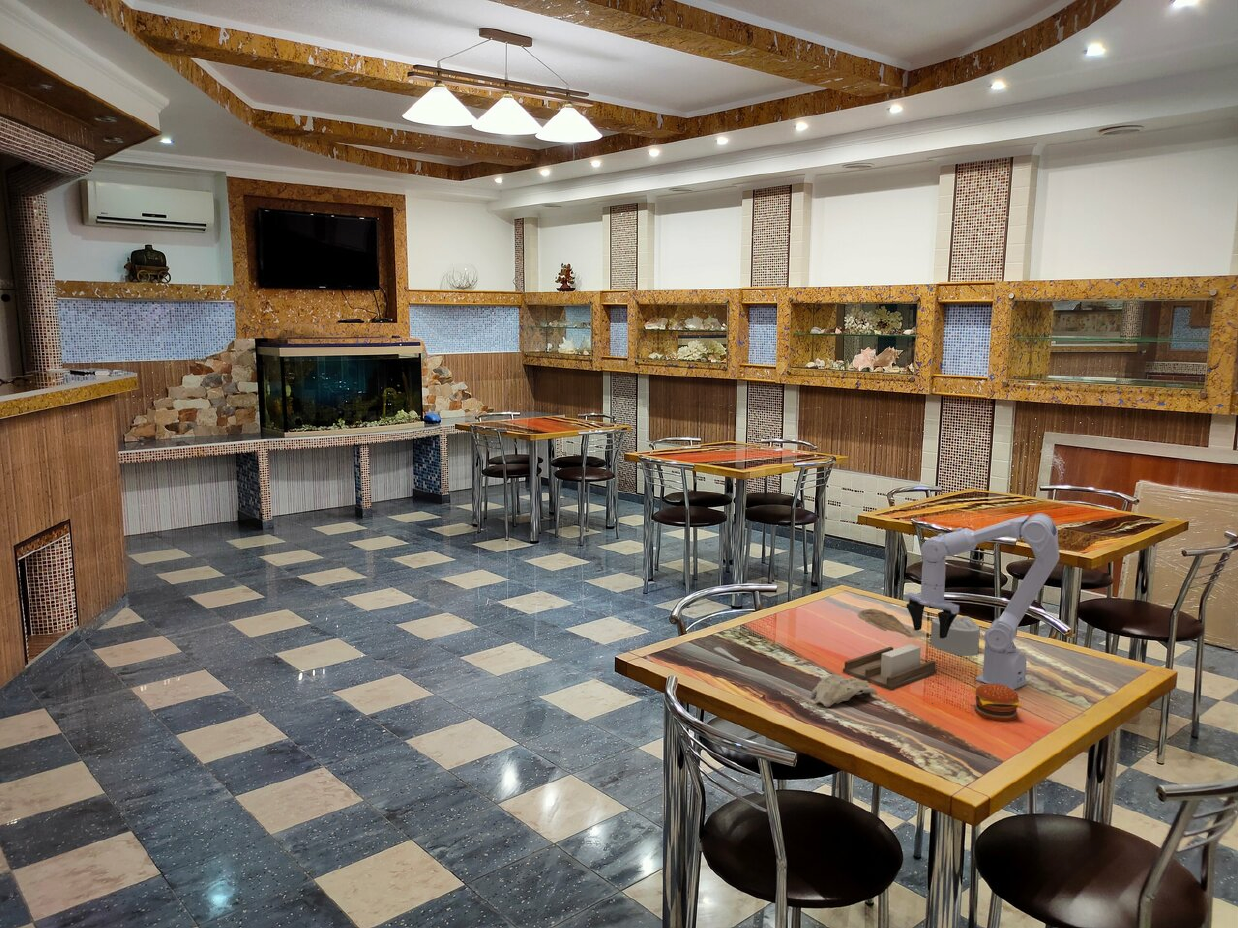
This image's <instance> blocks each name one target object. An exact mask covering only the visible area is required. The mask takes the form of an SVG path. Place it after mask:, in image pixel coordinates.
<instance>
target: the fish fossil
mask: <svg viewBox="0 0 1238 928" xmlns="http://www.w3.org/2000/svg"><path fill="white" fill-rule="evenodd" d="M857 616H858V618H859V619H860V620H863V621H865V623H867V624H870V625H871V626H873V627H875V628H876V629H877V628H878V630H882V631H884V632H887V631H890V632H895V633H900V634H903V635H904V636H906V637H907V638H914V636H915V634H913V633H912V632H911V631H910V630H909V629H907V627H905V625H904V624H903V623H902V622H901V621H900V620H899V619H898V617H896V616H894V615H893V614H889V613H888V612H886V611H883V610H879V609H876V608H866V609H865V610H864V609H863V610H860V611H859V612H858V613H857Z"/></svg>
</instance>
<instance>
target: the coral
mask: <svg viewBox="0 0 1238 928" xmlns="http://www.w3.org/2000/svg"><path fill="white" fill-rule="evenodd" d="M862 694H870V695H875V696H877V695H878V691H877V690H876V689H875V688H874V687H872V686H871V685H870V682H868V681H865V680H862V679H859V678H856V677H854V676H851V677H850V678H846V677H844V676H843V675H838V674H829V675H827V676H823V677H820V678H819V681H818V682H817V684H815V687H814V688H813V689H812V691H811V696H813V697H815V698H814V705H818V704H819V703H821V704H822V705H823V706H824V707H825V708H829V707H831V706H832V705H834V704H835V703H836V704H837V705H838V704H840V703H841V702H844V701H845V702H846V701H850V699H851V698H852V697H854V696H855V695H856V696H859V695H862Z"/></svg>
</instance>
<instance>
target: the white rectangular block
mask: <svg viewBox="0 0 1238 928" xmlns="http://www.w3.org/2000/svg"><path fill="white" fill-rule="evenodd" d="M921 648H922V647H921V646H918V645H915V644H912V643H909V644H907V645H904V646H901V647H899V648H894V649H893V650H892V651H889V652H886V653H883V654H882V659H881V677H883V678H886V679H887V677H889V676H891V675H894V674H897V673H900V672H902V671H905V670H908V669H911V668H913V667H916V666H919V665H920V664H921Z"/></svg>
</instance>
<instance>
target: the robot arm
mask: <svg viewBox="0 0 1238 928" xmlns="http://www.w3.org/2000/svg"><path fill="white" fill-rule="evenodd" d="M1029 516H1030V515H1023V516H1022V515H1021V516H1018V517H1015V518H1011V519H1008V520H1005V521H1001V522H998V523H995V524H992V525H988V526H985V527H982V528H980V529H977V530H972V529H970V528H968V527H966V528H963V527H962V526H961V527H957V528H956V529H955V531H952V532H948V533H945V534H943V533H942V532H941V533H938V534H937V536H932V537H930V538H928V539H927V540H926V541H925V542H923V544H922V545H921V547H920V553H921V556H922V566H921V579H920V581H921V583H920V584H921V585H920V593H914V592H909V593H908V592H907V593H906V594H905V601H906V602H908V603H907V604H906V605H905V606H906V609H907V610H908V613H909V614H910V616H911V620H912V625H913V630H914V631H916V632H917V631H920V630H922V625H923V616H924V615H923V614H924V611H925V607H926V606H927V607H931V608H934V609H937V610H942V611H940V612H938V613H937V617H939V622H940V638H942V639H943V638H946V637H947V634H948V631H949V628H950V626H951V624H952V622H953V620H954V618H955V617H956V616H957V617H958V614H959V613H960V605H959V604H956V603H953V602H951V601H948V600H946V599H945V585H946V582H945V581H946V569H947V567H946V560H947V559H946V557H952V556H957V555H960V554H964V553H967V552H971V551H974V550H976V547H977V546H978V544H981V543H984V542H989V541H993V540H998V539H1001V538H1005V537H1011V538H1014V539H1015V540H1018V541H1019V540H1021V539H1023V540H1024V542H1025V543H1026V544H1027V545H1028V546H1029V547H1030V548H1031V550H1032V552H1033V555H1034V557H1035V560H1034V562H1033V563H1032V565H1031V567H1030V568H1029V569H1028V571H1027V573H1026V574H1025V576H1024V578H1023V580H1022V581H1021V583H1020V584H1019V585H1018V587H1017V589H1016V591H1015V592H1014V594H1013V596H1011V599H1010V601H1009V602H1008V604H1007V606H1006V607H1005V609H1004V610H1003V612H1002V614H1001V615H1000V616H999V617H997V618H995V619H994V620H993V621H992V622H991V624H990V625H989V628H987V629H986V630H985V633H984V636H983V637H984V651H983V665H982V666H983V667H982V674H981V675H979V676H976V677H975V678H974V679H975V681H978V682H981V683H983V684H988V683H993V684H1001V685H1005V686H1007V687H1009V688H1011V689H1013V690H1014V691H1015V690H1017V689H1019V688H1020V687H1023V686H1025V685H1027V681H1026V676H1027V675H1026V673H1027V657H1026V655H1025V654H1023V653H1021V652H1019V651H1018V650H1017V647H1016V645H1015V642H1014V641H1013V640H1014V639H1015V638H1016V637H1017V635H1018V627H1019V624H1020V622H1021V621H1022V619H1023V618H1024V617H1025V614H1026V613H1027V611H1028V610H1029V608H1030V607H1031V605H1032V604H1033V602H1034V600H1035V599H1036V598H1037V596H1038V594H1039V592H1040V591H1041V589H1042V588H1043V586H1044V585H1045V583H1046V581H1047V580H1048V578H1049V577H1050V575H1051V573H1052V572H1053V570H1054V569H1055V567H1056V565H1057V564H1058V562H1059V561H1060V558H1061V557H1060V547H1059V530H1058V528H1057V526H1056V524H1055V522H1054V520H1053V518H1052V517H1051V516H1050V515H1048V514H1046V513H1041V512H1039V513H1034V514H1032V515H1031V516H1030V517H1029Z"/></svg>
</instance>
